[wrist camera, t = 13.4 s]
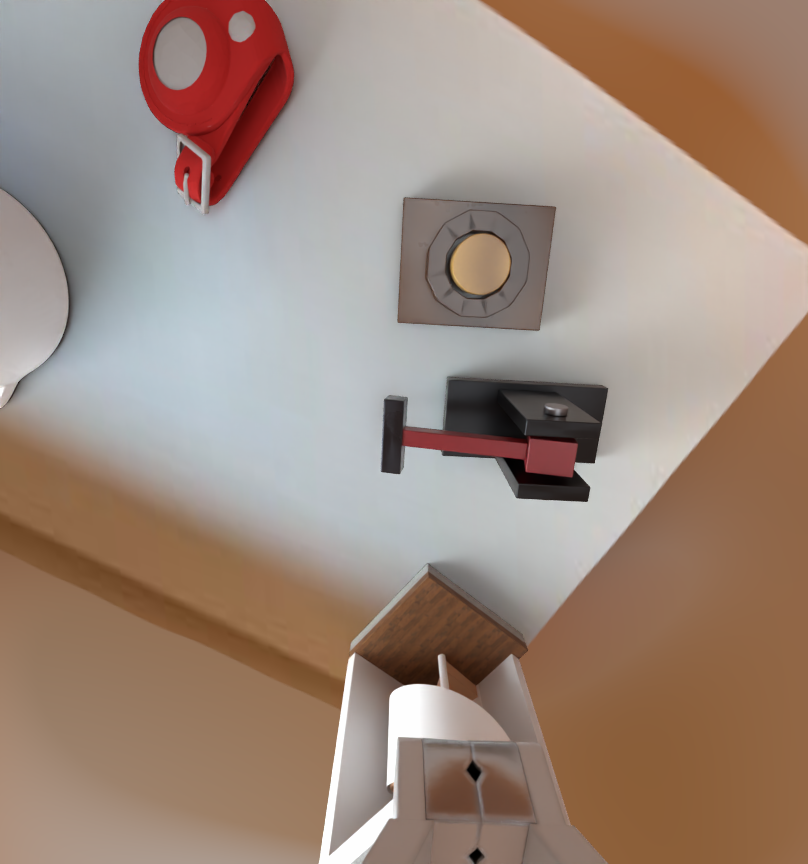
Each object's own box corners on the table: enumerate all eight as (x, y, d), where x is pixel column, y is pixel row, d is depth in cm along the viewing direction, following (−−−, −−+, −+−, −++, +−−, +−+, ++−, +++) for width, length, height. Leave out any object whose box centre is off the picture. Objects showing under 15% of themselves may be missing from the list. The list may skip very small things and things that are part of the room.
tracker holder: (101, 19, 30) (232, -78, 26) (158, 62, 34) (276, -17, 31) (163, 214, 30) (297, 143, 27) (210, 232, 34) (332, 172, 31)
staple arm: (386, 462, 34) (378, 475, 32) (390, 393, 33) (382, 400, 30) (564, 484, 32) (569, 499, 30) (576, 411, 31) (581, 420, 28)
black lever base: (441, 450, 39) (453, 503, 30) (447, 376, 37) (462, 407, 28) (589, 458, 39) (648, 512, 30) (602, 385, 37) (668, 418, 28)
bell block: (397, 320, 36) (397, 324, 32) (403, 202, 34) (403, 191, 30) (531, 328, 36) (546, 333, 32) (546, 211, 34) (565, 202, 30)
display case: (522, 634, 44) (906, 1747, 10) (445, 706, 46) (557, 1806, 13) (427, 563, 42) (526, 1677, 8) (351, 642, 44) (189, 1760, 11)
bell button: (447, 292, 32) (450, 293, 30) (452, 234, 31) (454, 231, 29) (501, 296, 32) (507, 296, 30) (508, 237, 31) (514, 234, 29)
